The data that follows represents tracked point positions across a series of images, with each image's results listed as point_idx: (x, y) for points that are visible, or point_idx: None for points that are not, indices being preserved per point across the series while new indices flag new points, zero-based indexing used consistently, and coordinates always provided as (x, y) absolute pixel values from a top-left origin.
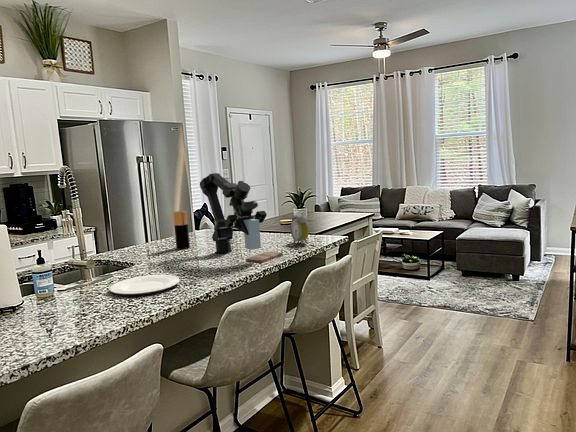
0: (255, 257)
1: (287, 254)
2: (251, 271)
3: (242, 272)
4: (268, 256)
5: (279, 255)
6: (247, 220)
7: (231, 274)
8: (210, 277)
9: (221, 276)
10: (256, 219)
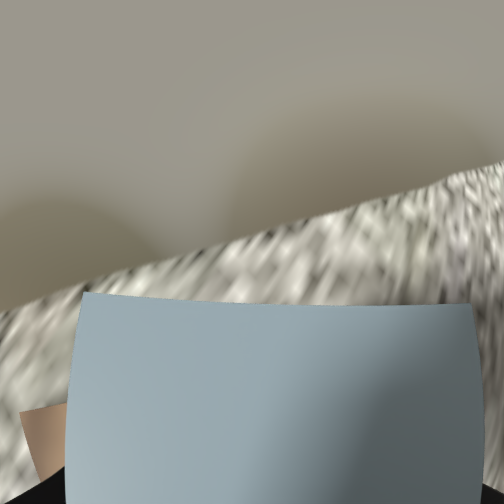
0: None
1: (5, 403)
2: (359, 245)
3: (396, 261)
4: None
5: (50, 407)
6: (446, 493)
7: (440, 267)
8: (500, 287)
9: (472, 270)
10: (84, 449)
